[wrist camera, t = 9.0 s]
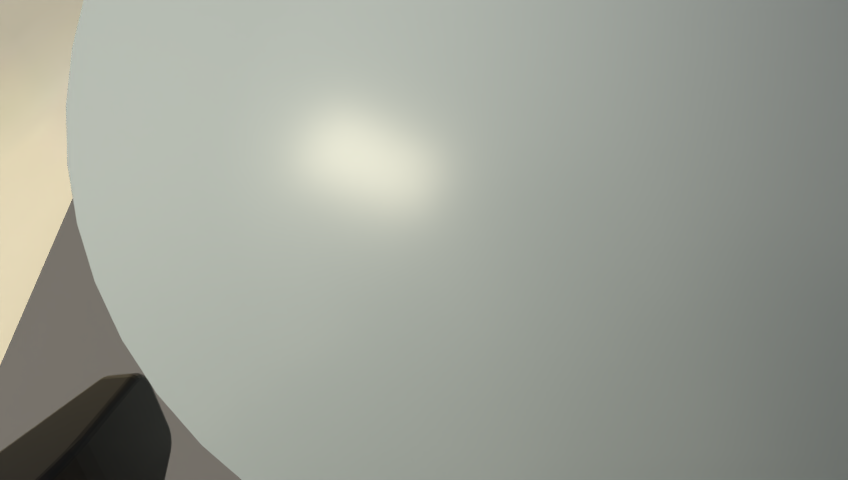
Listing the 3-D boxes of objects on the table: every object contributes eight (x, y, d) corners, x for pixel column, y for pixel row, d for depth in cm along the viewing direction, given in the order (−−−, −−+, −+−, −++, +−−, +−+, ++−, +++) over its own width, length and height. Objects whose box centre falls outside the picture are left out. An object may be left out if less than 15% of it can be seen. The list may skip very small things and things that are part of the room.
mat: (564, 758, 16) (565, 768, 15) (-43, 497, 19) (-58, 500, 18) (725, 166, 18) (730, 159, 17) (161, 23, 21) (153, 13, 21)
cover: (733, 463, 16) (1318, 563, 4) (398, 487, 17) (45, 630, 5) (679, 144, 18) (974, -460, 6) (378, 180, 19) (82, -279, 7)
